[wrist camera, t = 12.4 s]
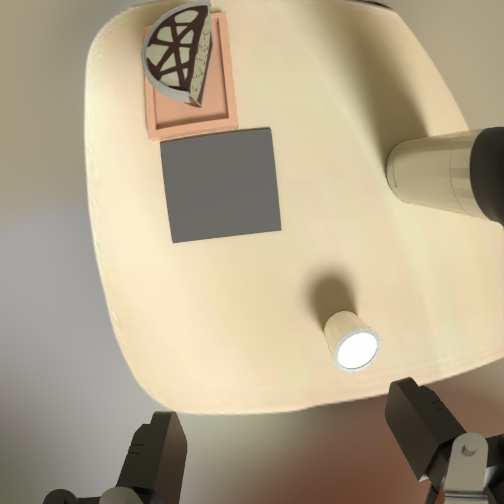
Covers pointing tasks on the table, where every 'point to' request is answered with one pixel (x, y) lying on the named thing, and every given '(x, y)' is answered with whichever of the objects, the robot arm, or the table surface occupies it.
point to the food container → (180, 52)
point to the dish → (214, 102)
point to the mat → (221, 185)
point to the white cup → (351, 341)
